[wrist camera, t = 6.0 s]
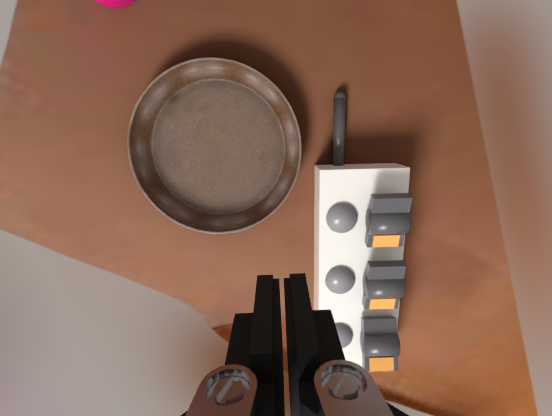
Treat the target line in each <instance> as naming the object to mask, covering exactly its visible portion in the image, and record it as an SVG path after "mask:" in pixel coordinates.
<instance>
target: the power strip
mask: <svg viewBox="0 0 552 416" xmlns="http://www.w3.org/2000/svg"><path fill="white" fill-rule="evenodd" d="M345 104H346V96H345V94H344V93H343V92H337V93H336V94H335V95H334V120H333V165H315V196H314V310H329V309H330V310H331V312H332V315H333V319H334V322H335V325H336V329H337V332H338V336H339V339H340V343H341V346H342V350H343V353H344V356H345V360H346V361H351V362H354V363H356V364H359V365H360V366H362V351H361V346H360V332H361V317H367V316H394V317H395V318H396V319H397V329H398V316H399V306H398V308H394V309H364V307H363V304H362V298H363V284H362V280H363V274H364V273H366V268H367V261H389V260H403V253H404V241H403V246H402V247H367V246H366V244H365V235H366V224H365V216H366V211H367V209H368V208H369V206H370V198H371V194H387V193H408V190H409V178H410V167H407V166H403V165H400V164H397V163H374V164H344V140H345ZM404 240H405V236H404ZM399 303H400V301H399ZM370 372H373V371H370Z"/></svg>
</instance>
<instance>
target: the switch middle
mask: <svg viewBox="0 0 552 416" xmlns="http://www.w3.org/2000/svg"><path fill="white" fill-rule="evenodd" d="M405 271H406V265H405V263H404V261H403V260H389V261H367V268H366V273H364V274H363V280H362V284H363V298H362V304H363V307H364V309H394V308H398V306H399V301H400V298H403V297H404V295H405V281H404V276H405Z"/></svg>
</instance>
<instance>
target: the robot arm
mask: <svg viewBox="0 0 552 416" xmlns="http://www.w3.org/2000/svg"><path fill="white" fill-rule="evenodd" d="M284 293H285V314H286V335H287V356H288V374H289V391H290V392H289V393H290V410H291V411H290V412H291V416H409V415H407V414H405V413H403V412H402V411H400V410H399V409H397V408H395V407H394V406H392V405H390V404H389V403H387V402H386V401H385V399H384V398H383V396H382V394H381V392H380V391H379V389H378V387H377V385H376V384H375V382H374V380H373V378H372V377H371V375H370V374H369V373H368V371H367V370H366V369H364V368H363V367H362V366H360V365H359V364H356V363H354V362H351V361H346V360H345V356H344V353H343V350H342V346H341V343H340V339H339V336H338V332H337V329H336V325H335V322H334V319H333V315H332V312H331V310H330V309H329V310H312V308H311V302H310V297H309V292H308V287H307V282H306V276H305V273H300V274H290V278H284ZM181 416H285V407H284V376H283V348H282V328H281V308H280V289H279V279H273V275H258V276H257V284H256V294H255V303H254V312H253V313H240V314H235V317H234V322H233V326H232V331H231V336H230V341H229V347H228V352H227V356H226V361H225V366H221V367H218V368H216V369H214V370H212V371H211V372H210V373H209V374H207V375H206V376H205V377H204V379H203V380H202V382H201V383H200V385H199V387H198V389H197V392H196V394H195V396H194V398H193V400H192V402H191V404H190V407H189V409H188V411H186V412H185V413H184V414H182V415H181Z"/></svg>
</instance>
